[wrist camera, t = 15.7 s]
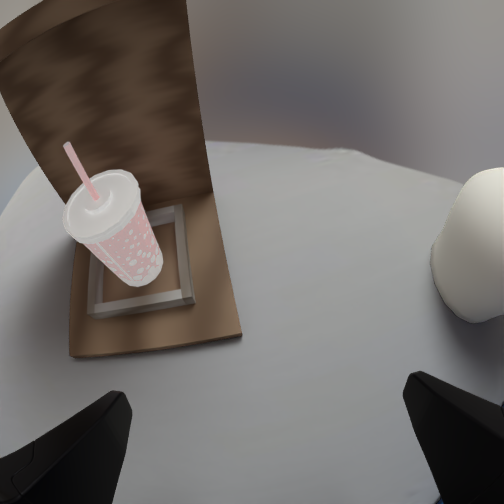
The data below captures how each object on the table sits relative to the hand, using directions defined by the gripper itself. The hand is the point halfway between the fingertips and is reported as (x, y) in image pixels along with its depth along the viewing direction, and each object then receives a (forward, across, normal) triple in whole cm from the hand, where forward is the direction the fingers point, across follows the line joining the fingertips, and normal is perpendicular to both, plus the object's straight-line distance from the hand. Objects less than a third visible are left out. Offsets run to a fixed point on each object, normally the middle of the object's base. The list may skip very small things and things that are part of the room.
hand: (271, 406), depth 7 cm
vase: (+16, -24, +3) cm, 30 cm away
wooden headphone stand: (+18, +10, +1) cm, 21 cm away
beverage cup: (+18, +10, +1) cm, 20 cm away
